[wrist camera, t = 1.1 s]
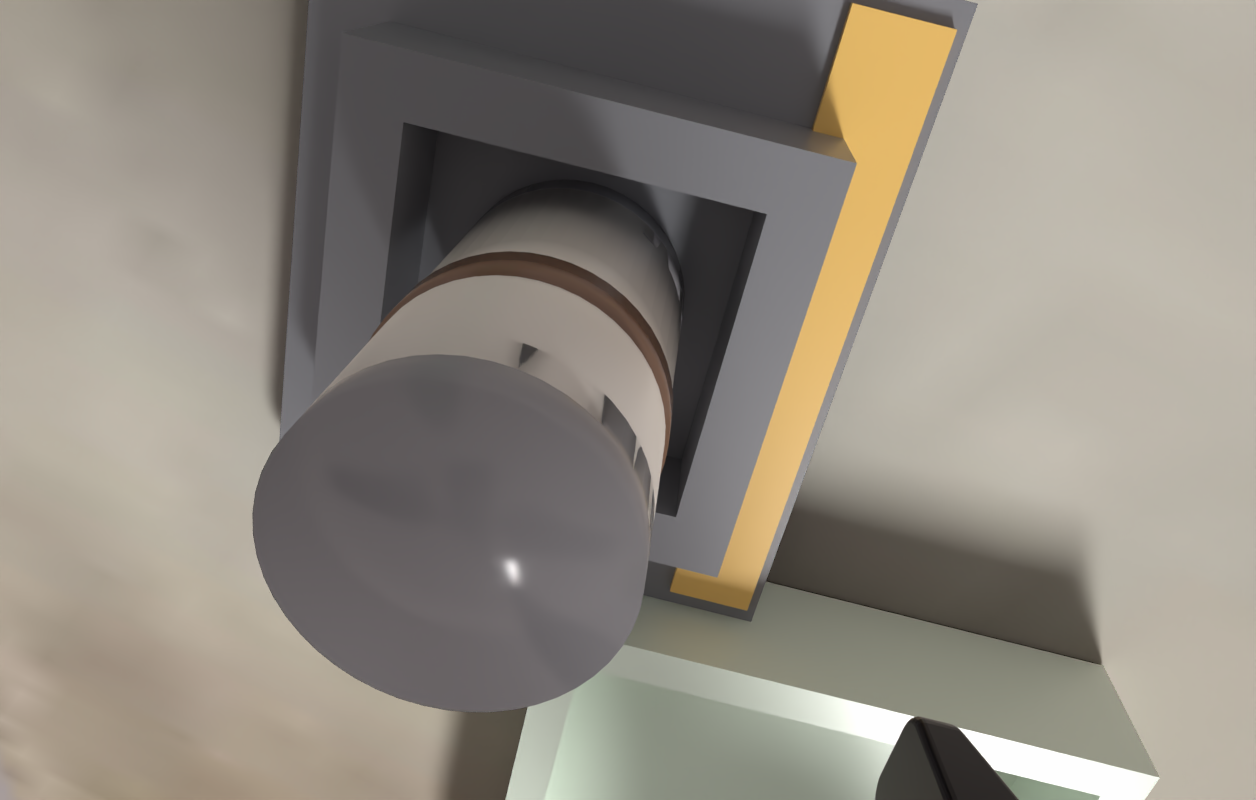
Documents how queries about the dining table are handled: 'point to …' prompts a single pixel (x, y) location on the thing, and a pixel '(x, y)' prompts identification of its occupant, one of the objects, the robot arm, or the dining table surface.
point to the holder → (653, 178)
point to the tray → (820, 710)
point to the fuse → (488, 462)
